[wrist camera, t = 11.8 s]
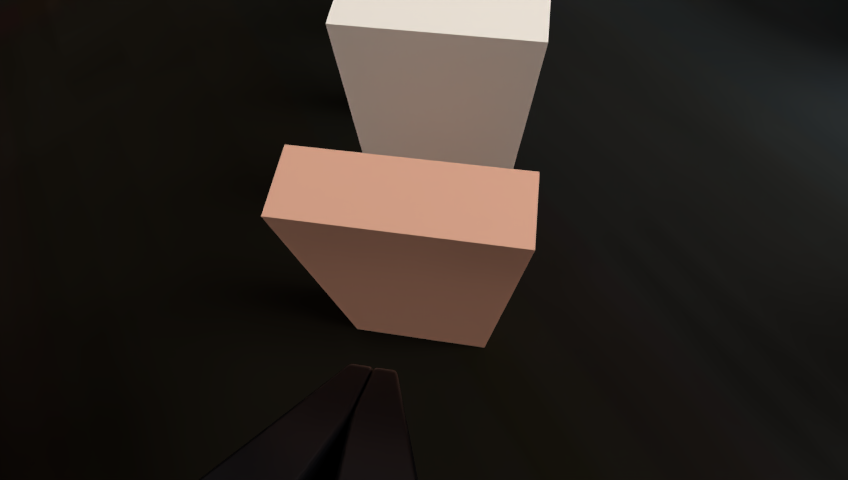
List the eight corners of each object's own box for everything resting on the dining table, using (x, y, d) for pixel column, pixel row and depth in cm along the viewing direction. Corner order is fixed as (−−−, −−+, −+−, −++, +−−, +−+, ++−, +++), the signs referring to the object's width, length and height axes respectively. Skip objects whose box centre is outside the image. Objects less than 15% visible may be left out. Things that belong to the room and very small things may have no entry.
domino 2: (484, 347, 17) (535, 249, 8) (357, 328, 17) (260, 216, 8) (488, 307, 17) (539, 171, 8) (365, 290, 18) (284, 144, 9)
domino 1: (495, 231, 19) (547, 42, 9) (381, 217, 19) (325, 23, 10) (499, 198, 19) (551, -9, 10) (387, 185, 20) (341, -25, 11)
